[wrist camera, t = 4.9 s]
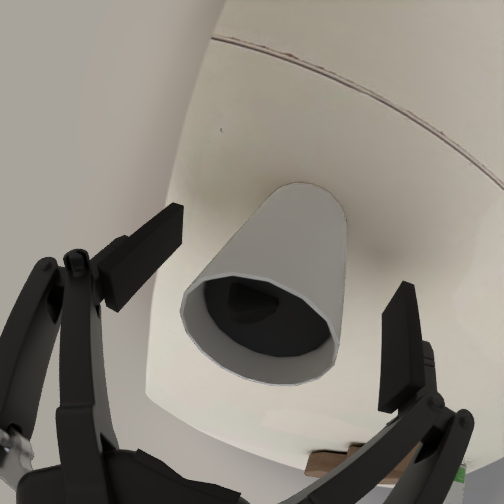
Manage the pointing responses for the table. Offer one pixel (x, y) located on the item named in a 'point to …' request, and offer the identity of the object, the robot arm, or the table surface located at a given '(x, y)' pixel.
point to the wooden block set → (327, 461)
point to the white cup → (275, 291)
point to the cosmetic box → (457, 488)
